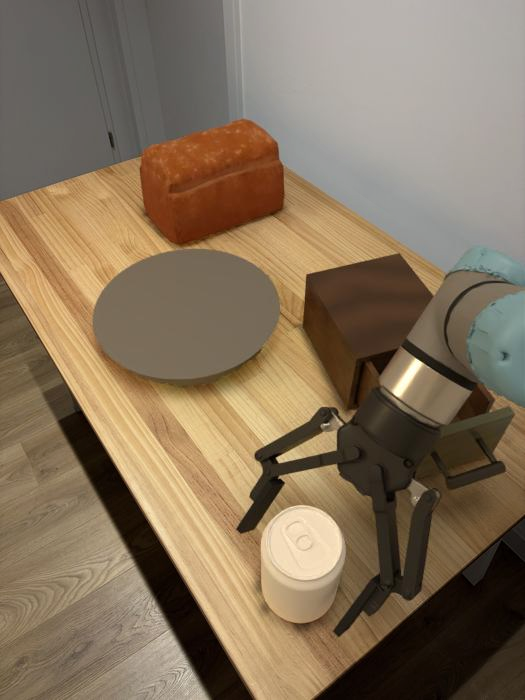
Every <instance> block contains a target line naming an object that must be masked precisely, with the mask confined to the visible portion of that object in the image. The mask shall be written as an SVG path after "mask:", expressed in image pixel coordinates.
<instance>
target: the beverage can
mask: <svg viewBox="0 0 525 700" xmlns="http://www.w3.org/2000/svg"><path fill="white" fill-rule="evenodd" d="M346 557H347V545H346V540H345V537H344V534H343V532H342V530H341V528H340V527H339V525H338V524H337V523H336V521H335V520H334V518H332V517H331V515H329V513H326V512H325V511H323V510H322V509H321V508H318V507H315V506H312V505H306V504H300V505H293V506H289V507H287V508H285V509H283V510H281V511H280V512H278V513H277V514H276V515H274V516H273V517H272V518H271V520H269V522H268V523H267V525H266V526H265V527H264V530H263V532H262V535H261V539H260V582H261V592H262V596H263V599H264V601H265V603H266V604H267V606H268V608H269V609H270V610H271V612H273V613H274V614H275V615H276V616H278V617H279V618H281V619H283V620H285V621H287V622H290V623H294V624H306V623H311V622H314V621H316V620H318V619H320V618H322V617H323V616H325V614H326V613H327V612H328V611H329V610H330V608H331V606H332V605H333V603H334V601H335V598H336V595H337V591H338V588H339V584H340V580H341V577H342V573H343V569H344V566H345V561H346Z"/></svg>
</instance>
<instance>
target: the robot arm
mask: <svg viewBox="0 0 525 700" xmlns="http://www.w3.org/2000/svg"><path fill="white" fill-rule="evenodd" d="M442 281H443V282H442V283H441V284H440V285H439V288H438V289H437V290H436V292H435V294H433V296H434V297H433V298H432V300H431V301H430V303H429V304H428V306H427V307H426V309H425V310H424V312H423V313H422V315H421V316H420V318H419V319H418V321H417V322H416V324H415V325H414V327H413V328H412V330H411V331H410V333H409V334H408V336H407V337H406V339H405V340H404V342H403V343H402V345H401V346H400V347H399V349H398V350H397V352H396V353H395V355H394V356H393V358H392V359H391V361H390V362H389V363H388V365H387V366H386V368H385V369H384V371H383V372H382V374H381V375H380V377H379V378H378V379H379V383H380V385H381V387H375V388H372V389H371V390H370V392H369V393H368V395H367V396H366V397H365V399H364V400H363V402H362V403H361V405H360V406H359V407H357V408H356V409H357V410H355V412H354V414H353V415H352V417H351V419H350V420H349V421H345V420H344V418H342V417H341V416H340V415H339V413H340V411H339V410H338V408H337V407H335V406H321V407H320V408H318V409H317V411H316V412H315V413H314V414H313V416H312V417H311V418H310V419H309V421H307V422H305V423H303V424H301V425H299V426H298V427H296V428H294V429H292V430H291V431H289V432H287V433H285V434H284V435H282V436H280V437H278V438H277V439H274V440H273V441H271V442H270V443H268V444H266V445H264V446H263V447H261V448H259V449H257V450H256V451H255V452H254V460H255V461H256V462H258V463H259V464H260V466H261V468H262V472H261V473H262V474H261V475H260V477H259V478H258V480H257V481H256V483H255V485H254V486H252V489H251V491H250V492H249V499H250V500H251V501H252V504H251V505H250V507H249V508H248V510H247V512H246V513H245V514H244V516H243V517H242V519H241V520H240V522H239V523H238V525H237V526H236V528H235V530H236V531H237V532H238V533H239V534H240V535H242V534H245V533H248V532H251V531H254V530H256V528H257V526H258V525H259V524H260V522H261V521H262V519H263V517H264V516H265V515H266V513H267V512H268V510H269V508H270V507H271V505H273V502H274V501H275V500H276V498H277V496H278V495H279V493H280V492H281V490H282V488H283V487H284V486H285V484H286V482H285V481H284V480H283V479H282V478H281V477H280V476H285V475H289V474H295V473H300V472H305V471H309V470H315V469H319V468H324V467H328V466H333V465H336V467H337V470H338V476H340V477H341V478H342V479H343V480H345V481H347V482H348V483H350V484H352V485H353V487H354V488H355V490H356V491H357V492H358V493H359V494H360V495H362V496H363V497H365V496H366V497H369V498H371V507H372V512H373V513H374V522H375V529H376V530H375V532H376V534H375V535H376V545H377V557H378V568H379V570H378V571H379V572H378V573H377V574H376V575H375V576H373V577H372V578H370V580H369V581H368V582H367V584H366V585H365V586H364V588H363V589H362V591H360V593H359V594H358V595H357V597H356V599H355V600H354V601H353V603H352V604H351V605H350V606H349V608H348V609H347V611H346V612H345V614H344V615H343V616H342V617H341V619H340V620H339V622H337V624H336V625H335V627H334V628H333V629H332V633H333V634H335V636H336V637H337V638H340V637H341V636H343V634H345V633H346V632H347V631H349V629H350V628H351V627H352V626H353V624H354V623H355V622H356V620H357V619H359V616H360V615H361V614H362V613H363V612H364V613H365V615H367V616H368V617H369V618H370V617H371V616H374V615H375V614H376V613H378V612H379V611H380V609H381V608H382V607H383V606H384V604H385V603H386V601H388V599H389V597H390V596H391V595H392V594H397V595H398V596H401V598H402V599H403V600H405V601H407V602H410V601H413V599H415V598H416V597H417V596H418V595H419V594H420V593H421V592H422V590H423V589H422V588H423V584H424V583H423V582H424V575H425V569H426V561H427V555H428V554H427V553H428V548H429V540H430V535H431V534H430V533H431V527H432V521H433V520H432V519H433V514H434V512H435V510H436V508H437V507H438V505H439V503H440V501H441V499H442V497H443V494H442V491H441V490H440V489H439V488H438V487H430V486H428V485H426V484H425V483H423V482H422V481H420V480H419V479H416V478H415V476H416V471H417V468H418V467H419V465H420V464H421V462H422V461H423V460H424V458H425V457H426V455H427V454H428V453H429V451H430V450H431V448H432V447H433V446H434V444H435V443H436V441H437V440H438V439H439V437H440V436H441V429H440V427H439V425H449V424H450V422H451V421H452V419H453V418H454V417H455V415H456V414H457V412H458V411H459V410H460V408H461V407H462V405H463V404H464V403H465V401H466V400H467V398H468V397H469V396H470V394H471V393H472V390H474V389H475V388H476V386H477V384H478V383H479V381H480V382H481V383H482V384H483V385H484V386H485V387H486V388H487V390H488V391H492V392H493V393H494V394H495V395H497V396H498V397H504V399H506V400H507V401H508V402H512V403H513V404H515V405H516V406H519V407H520V408H524V409H525V264H523V263H521V262H520V261H518V260H516V259H515V258H513V257H511V256H509V255H507V254H505V253H503V252H501V251H499V250H497V249H496V250H495V249H492V248H490V247H488V246H486V245H473V246H470V247H469V248H467V249H466V250H465V252H464V253H463V254H462V255H461V257H460V258H459V259H458V260H457V262H456V263H455V264H454V265H453V267H452V268H451V269H450V270H448V271H447V272H446V274H445V275H444V278H443V280H442ZM333 431H336V449H335V450H332V451H327V452H322V453H319V454H315V455H310V456H306V457H302V458H297V459H293V460H288V461H283V462H279V461H278V459H277V458H279V457H280V456H283V455H284V454H286V453H288V452H289V451H292V450H293V449H295V448H297V447H300V445H302V444H304V443H306V442H308V441H309V440H312V439H313V438H316V437H317V436H319V435H321V434H322V433H331V432H333ZM406 489H407V490H408V491H409V492H410V494H411V495H410V503H411V505H412V506H413V507H414V508H413V511H412V514H411V518H410V525H409V531H408V537H407V544H406V545H407V547H406V550H405V551H406V552H405V559H404V566H403V573H402V567H401V566H402V565H401V553H400V542H399V530H398V521H397V520H398V519H397V508H398V500H397V492H402V491H404V490H406Z"/></svg>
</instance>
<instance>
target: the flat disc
mask: <svg viewBox="0 0 525 700" xmlns="http://www.w3.org/2000/svg"><path fill="white" fill-rule="evenodd" d="M280 316H281V301H280V296H279V293H278V290H277V288H276V285H275V284H274V282H273V281H272V279H271V278H270V277H269V275H268V274H267V273H266V272H264V270H263V269H261V268H260V267H259V266H257V265H256V264H254V263H253V262H252V261H250V260H247V259H246V258H243V257H241V256H239V255H237V254H233V253H230V252H226V251H222V250H217V249H209V248H181V249H174V250H168V251H163V252H160V253H157V254H154V255H149V256H148V257H145V258H142V259H140V260H139V261H136V262H135V263H133V264H130V265H129V266H128V267H126V268H124V269H122V270H121V271H120V272H119V273H118V274H116V275H115V276H113V278H112V279H111V280H110V281H109V282H108V283H107V284H106V285H105V287H104V288H103V290H101V292H100V294H99V296H98V298H97V299H96V302H95V305H94V307H93V311H92V328H93V329H92V330H93V334H94V336H95V339H96V341H97V343H98V345H99V346H100V347H101V349H102V350H103V352H104V353H105V354H106V355H107V356H108V357H109V358H110V359H111V360H113V361H114V362H115V363H117V364H118V365H120V366H121V367H123V368H125V369H126V370H127V371H128V372H130V373H132V374H133V375H134V376H135V377H138V378H141V379H142V380H146V381H149V382H150V381H151V382H155V383H159V384H165V385H169V386H171V387H179V388H182V389H183V388H191V387H193V388H195V387H197V388H198V387H201V386H205V385H210V384H211V383H215V382H218V381H219V380H221V379H222V378H224V377H226V376H228V375H231V374H233V373H234V372H237V371H239V370H240V369H242V368H243V367H244V366H245V365H247V364H248V363H250V362H251V361H252V360H254V359H255V358H256V357H257V356H258V355H259V354H260V352H261V351H262V349H263V348H264V346H266V344H267V343H268V341H270V339H271V337H272V336H273V334H274V332H275V330H276V328H277V326H278V324H279V319H280Z"/></svg>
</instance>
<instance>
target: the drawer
mask: <svg viewBox="0 0 525 700" xmlns="http://www.w3.org/2000/svg"><path fill="white" fill-rule="evenodd" d="M394 355H395V353H393V354H390V355H386V356H382V357H379V358H375V359H371V360H367V361H364V362H362V364H361V369H360V374H359V379H358V384H357V389H356V394H355V399H356V401H357V402H358V404H359V406H360V405H361V403H362V402H363V400H364V399H365V397H366V396H367V395H368V393H369V392H370V390H371V389H372V388H375V387H381V385H380V383H379V379H378V378H379V377H380V375H381V374H382V372H383V371H384V369H385V368H386V366H387V365H388V363H389V362H390V361H391V359H392V358H393V356H394ZM495 401H496V399H495V397H494V396H493V395H492V393H491V392H490V390H489V389H488V388H487V387H486V386H484V385H483V384H482V383H481V382H480V381H479V383H478V384H477V386H476V388H475V389H474V390H472V393H471V394H470V396H469V397H468V398H467V400H466V401H465V403H464V404H463V405H462V407H461V408H460V410H459V411H458V412H457V414H456V415H455V417H454V418H453V419H452V421H451V422H450V424H449V425H439V427H440V429H441V436H440V437H439V439H438V440H437V441H436V443H435V444H434V446H433V447H432V448H431V450H430V451H429V453H428V454H427V455H426V457H425V458H424V460H423V461H422V462H421V464H420V465H419V467H418V468H417V471H416V476H415V478H416V479H417V480H419V479H420V478H423V477H427V476H430V475H433V474H437V473H441V475H442V476H443V478H444V480H443V481H444V485H445V487H446V489H447V490H448V491H454V490H457V489H460V488H463V487H465V486H469V485H472V484H475V483H478V482H481V481H484V480H486V479H489V478H493V477H496V476H499V475H501V474H505V473H506V472H507V466H506V463H505V462H504V461H502V460H498V459H497V458H496V455H494V452H495V450H496V448H497V446H498V445H499V443H500V441H501V439H502V438H503V436H504V435H505V433H506V431H507V429H508V428H509V426H510V424H511V423H512V421H513V419H514V417H515V415H516V413H515V412H514V410H513V409H512V407H511V406H506V407H502V408H498V409H496V410H492V411H491V409H492V407H493V405H494V403H495ZM485 457H486V458H487V460H488V461H489V462H490V463H487V464H484V465H481V466H478V467H475V468H472V469H469V470H465V471H463V472H460V473H457V474H454V475H452V474H451V473H450V471H449V469H451V468H454V467H458V466H461V465H463V464H467V463H470V462H473V461H477V460H479V459H483V458H485Z"/></svg>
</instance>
